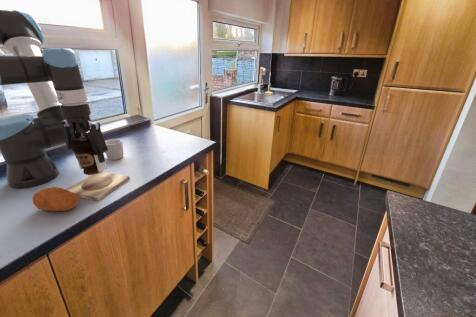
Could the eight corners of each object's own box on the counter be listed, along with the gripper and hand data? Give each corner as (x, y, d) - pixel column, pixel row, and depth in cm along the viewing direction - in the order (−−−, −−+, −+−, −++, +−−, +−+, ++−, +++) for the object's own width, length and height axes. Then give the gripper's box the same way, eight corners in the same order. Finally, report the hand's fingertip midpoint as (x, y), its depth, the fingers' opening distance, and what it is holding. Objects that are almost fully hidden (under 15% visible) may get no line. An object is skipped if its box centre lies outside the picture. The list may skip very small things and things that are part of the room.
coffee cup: (95, 178, 78) (84, 142, 72) (73, 176, 79) (61, 140, 74) (112, 167, 85) (104, 133, 80) (93, 165, 87) (83, 131, 81)
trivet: (63, 193, 80) (62, 190, 80) (98, 173, 93) (97, 170, 93) (98, 200, 76) (97, 197, 76) (129, 178, 90) (129, 176, 89)
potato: (52, 199, 77) (45, 181, 74) (87, 203, 75) (80, 184, 72) (31, 213, 71) (22, 193, 68) (68, 218, 69) (61, 197, 66)
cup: (96, 160, 105) (92, 143, 101) (109, 153, 112) (105, 137, 109) (117, 162, 103) (113, 145, 99) (129, 155, 110) (125, 139, 106)
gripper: (37, 103, 71) (61, 170, 81) (90, 107, 66) (108, 177, 76) (60, 99, 78) (79, 161, 88) (109, 102, 73) (124, 167, 83)
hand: (93, 168), depth 82 cm, fingers closed on coffee cup, 7 cm apart
